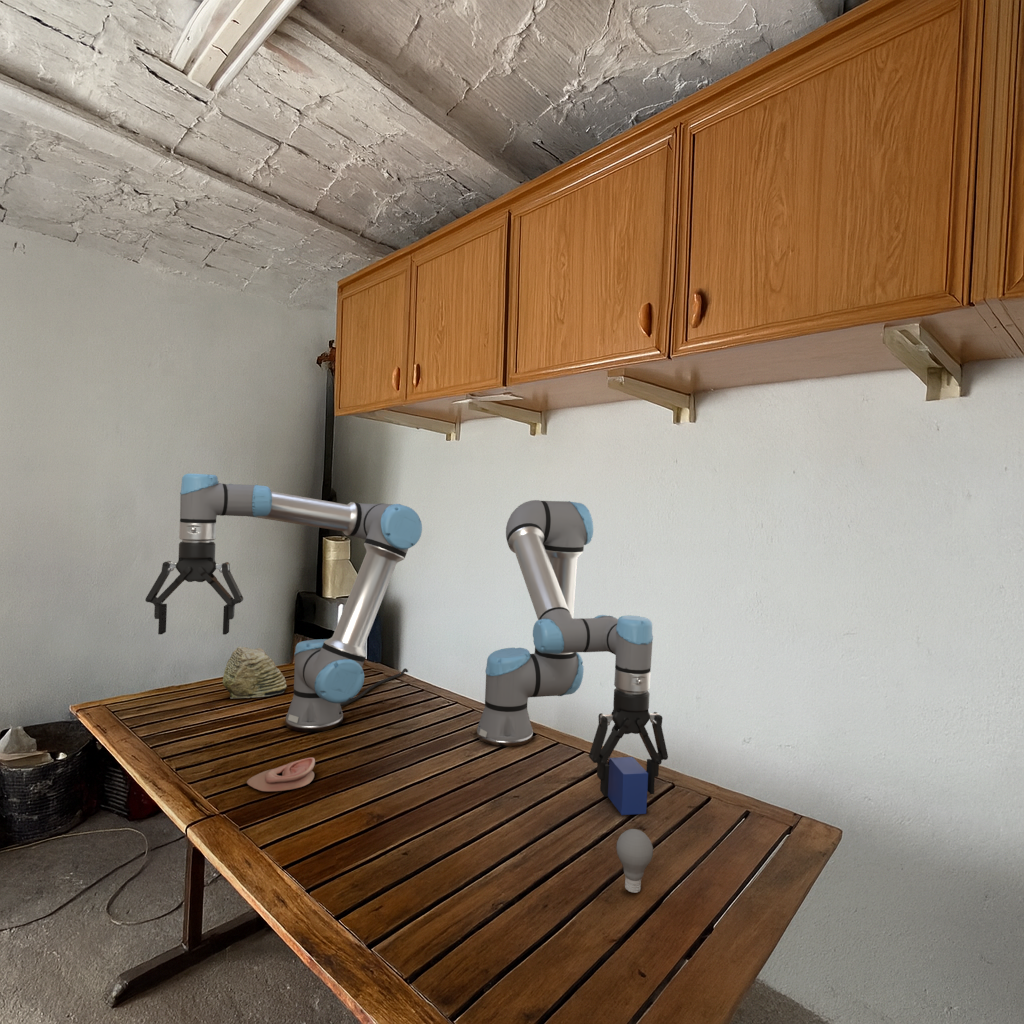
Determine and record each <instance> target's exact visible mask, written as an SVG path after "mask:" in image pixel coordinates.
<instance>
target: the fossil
mask: <svg viewBox="0 0 1024 1024" xmlns="http://www.w3.org/2000/svg"><path fill="white" fill-rule="evenodd" d="M222 676H223V677H222V685H223V687H224V688H225V690H226V691H228V693H229V698H230V699H250V698H264V697H271V696H275V695H281V694H284V693H285V691H286V689H287V687H288V686H287V680H286V678H285V676H284V674H283V673H282V672H281V669H279V668H278V667H277V665H276V663H275V662H274V660H273V659H272V658H271V657H270V656H269V655H268V654H267V653H266V652H265V650H264V649H263V648H260V647H258V648H251V647H247V646H246V647H245V646H238V647H237V648H236V649H235V650H233V651H232V653H231V656H230V657H229V659H228V660H227V663H226V666H225V668H224V671H223V675H222Z"/></svg>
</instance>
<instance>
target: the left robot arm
mask: <svg viewBox="0 0 1024 1024" xmlns="http://www.w3.org/2000/svg"><path fill="white" fill-rule="evenodd" d="M179 494H180V495H179V496H180V500H179V503H180V504H179V505H180V506H179V531H178V532H179V536H178V538H179V540H181V541H180V542H179V543H178V560H177V562H173V561H171V560H166V561H163V562H162V564H161V565H162V566H161V571H160V573H159V574H158V577H157V578H156V580H155V581H154V583H153V585H152V587H151V588H150V590H149V592H148V594H147V595H146V597H145V602H146V603H150V604H153V606H154V610H153V611H154V614H153V617H154V620H158V627H157V628H158V630H157V633H158V635H163V634H165V633H167V614H168V613H167V611H168V604H167V603H165V601H166V600H167V599H168V598H169V597H170V596H171V595H172V593H174V591H176V589H178V588H179V586H181V584H183V582H184V581H186V582H187V583H193V582H196V583H204V582H207V584H208V585H210V586H211V587H212V589H213V590H214V591H215V592H216V593H217V594H218V595H219V597H220V598H221V599H222V600H223V601H224V602H225V603H226V604H225V605H223V614H222V616H223V618H222V619H223V620H222V635H227V634H229V633H230V620H233V619H234V618H235V611H236V609H235V608H236V605H238V604H241V602H243V601H244V597H243V594H242V592H241V589H240V588H239V586H238V584H237V582H236V580H235V577H234V576H233V574H232V572H231V566H230V565H231V564H230V562H228V561H226V562H223V563H222V562H221V563H217V562H216V543H215V542H214V541H215V540H216V539H217V516H220V517H221V516H222V517H223V516H228V517H229V516H230V517H249V518H256V519H263V520H269V521H274V522H275V521H276V522H281V523H289V524H295V525H302V526H306V527H307V526H308V527H313V528H319V529H320V528H321V529H327V530H332V531H340V532H342V533H343V534H344V535H345V536H349V537H355V538H358V539H361V540H364V543H363V546H364V548H365V550H366V552H365V556H364V558H363V560H362V563H361V565H360V567H359V570H358V573H357V575H356V577H355V580H354V582H353V585H352V587H351V590H350V592H349V595H348V597H347V600H346V603H345V604H344V607H343V610H342V613H341V615H340V616H339V621H338V622H337V625H336V627H335V629H334V632H333V634H332V636H331V637H330V638H323V639H322V638H320V639H307V640H303V641H299V642H297V644H296V645H295V650H294V651H295V652H294V653H293V654H294V655H293V656H294V672H293V673H294V674H293V695H292V696H293V697H292V699H291V702H290V704H289V708H288V711H287V713H286V715H285V726H286V728H287V729H289V730H291V731H294V732H295V731H296V732H301V733H316V732H325V731H329V730H332V729H335V728H337V727H339V726H340V725H342V723H343V722H344V713H343V709H342V707H344V706H347V705H349V704H352V703H353V702H355V701H357V700H359V699H360V698H362V697H363V696H365V695H366V693H368V692H370V691H371V690H373V689H374V688H376V687H378V686H380V685H381V684H384V683H386V682H389V681H391V680H394V679H396V678H398V677H402V675H404V674H405V673H409V669H408V668H403V669H402V671H400V672H399V673H397V674H394V675H391V676H389V677H386V678H384V679H381V680H379V681H377V682H376V683H374V684H372V685H370V686H369V687H367V688H366V689H364V691H362V692H361V693H360V691H361V690H362V688H363V686H364V682H365V673H364V669H363V667H364V663H365V662H366V661H365V660H366V658H367V653H366V651H365V645H366V643H367V640H368V637H369V635H370V632H371V630H372V628H373V625H374V622H375V619H376V617H377V614H378V613H379V609H380V606H381V604H382V601H383V599H384V597H385V595H386V591H387V589H388V587H389V584H390V582H391V579H392V576H393V574H394V571H395V568H396V567H397V564H398V563H399V562H402V561H404V560H405V559H406V557H407V554H408V551H409V549H410V548H413V547H414V546H416V545H417V543H418V542H419V541H420V539H421V537H422V533H423V524H422V520H421V518H420V516H419V514H418V513H417V512H416V510H414V509H413V508H412V507H410V506H407V505H403V504H400V503H361V502H354V501H350V502H349V503H347V504H345V503H341V502H334V501H328V500H322V499H318V498H313V497H306V496H301V495H296V494H295V495H294V494H290V493H283V492H279V491H272V490H271V488H270V487H269V486H267V485H258V484H238V483H237V484H236V483H235V484H234V483H221V482H219V478H218V476H217V475H216V474H207V473H185V474H184V475H183V476H182V478H181V487H180V492H179ZM175 569H176V570H177V572H178V573H179V575H178V576H177V577H176V578H175V579H174V580H173V581H172V582H171V584H169V586H168V587H167V588H165V590H164V591H162V593H161V594H160V595H159V596H158V594H159V593H160V591H161V589H162V588H163V586H164V585H165V583H166V580H167V579H168V578H169V575H170V574H171V572H173V571H174V570H175ZM216 570H218V571H219V572H220V573H221V574H222V577H223V578H224V581H225V582H226V584H227V587H228V588H229V591H230V592H229V591H228V590H227V589H226V588H225V587H224V585H223V584H221V582H220V581H219V580H218V577H216V576H215V574H214V572H216ZM230 593H231V594H230ZM157 596H158V597H157ZM400 673H401V674H400Z"/></svg>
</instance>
